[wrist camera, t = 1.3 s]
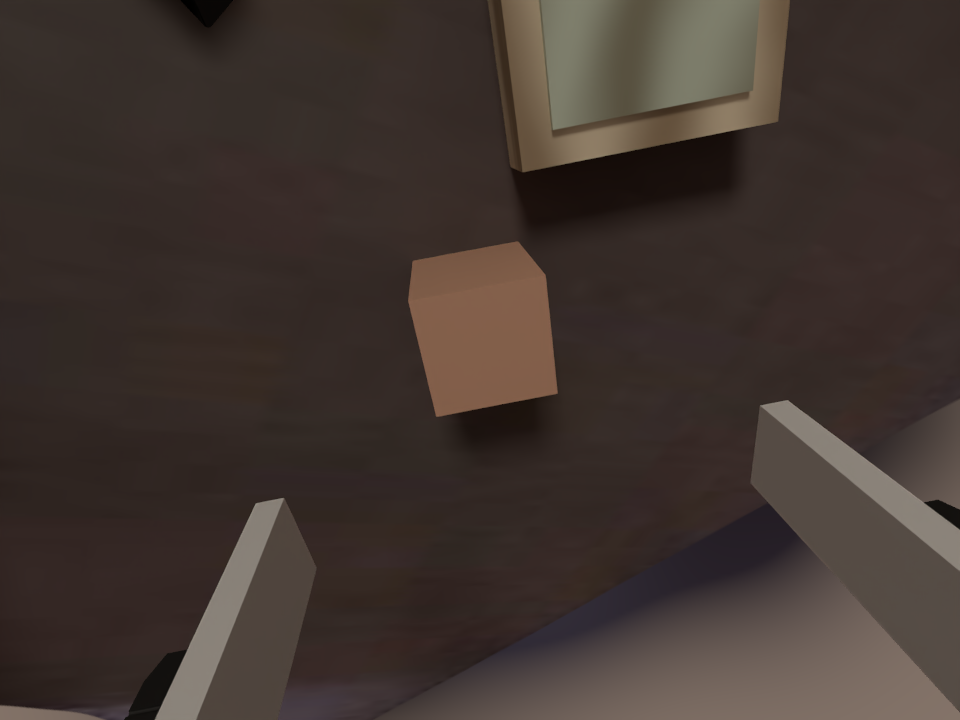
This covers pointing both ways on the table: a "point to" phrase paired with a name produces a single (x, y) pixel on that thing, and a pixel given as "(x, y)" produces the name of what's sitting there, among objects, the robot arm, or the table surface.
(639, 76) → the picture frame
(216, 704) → the robot arm
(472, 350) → the terracotta block
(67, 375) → the table surface
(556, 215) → the table surface
